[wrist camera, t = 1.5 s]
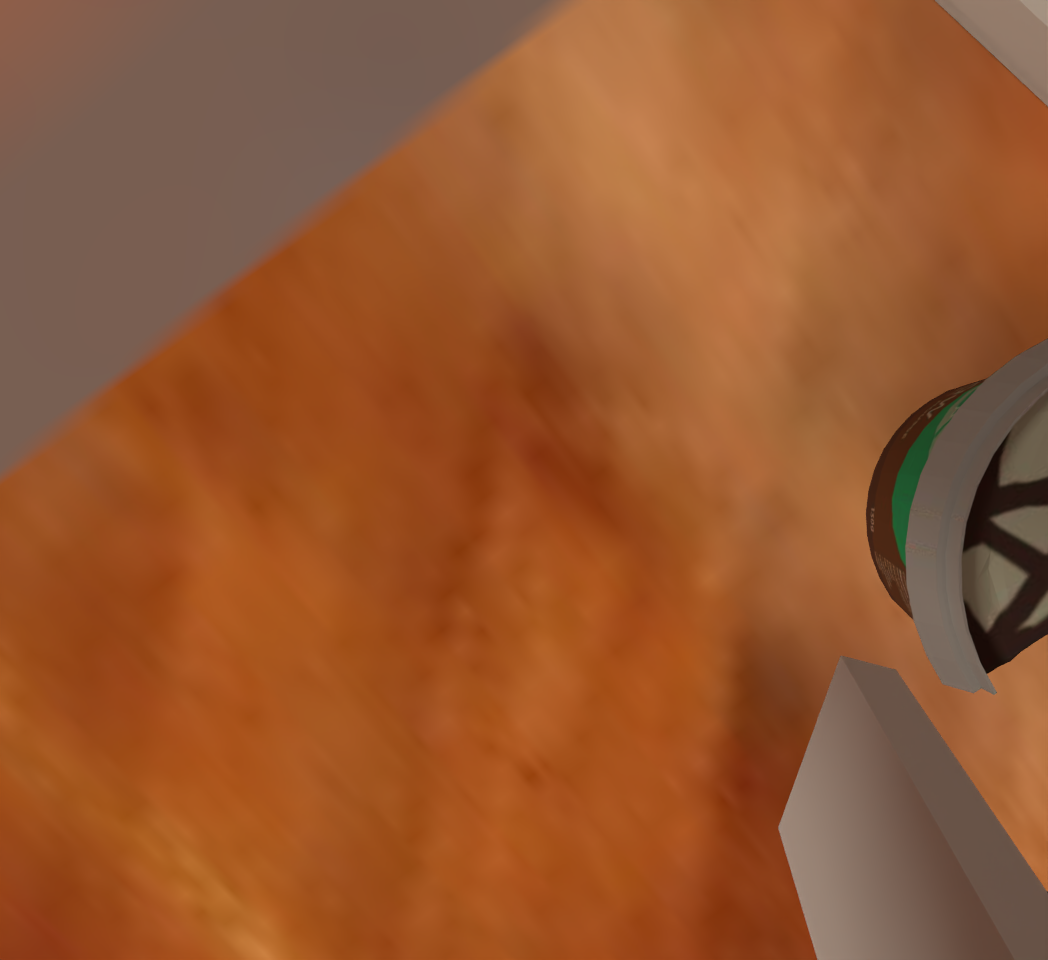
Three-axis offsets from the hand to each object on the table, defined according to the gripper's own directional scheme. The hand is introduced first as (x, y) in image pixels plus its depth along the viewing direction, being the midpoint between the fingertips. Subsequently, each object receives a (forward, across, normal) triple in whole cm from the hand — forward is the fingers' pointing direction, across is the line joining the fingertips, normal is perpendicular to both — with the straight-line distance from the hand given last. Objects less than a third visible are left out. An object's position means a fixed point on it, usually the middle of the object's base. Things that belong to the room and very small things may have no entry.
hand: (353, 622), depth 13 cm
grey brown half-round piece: (+21, -16, -2) cm, 26 cm away
